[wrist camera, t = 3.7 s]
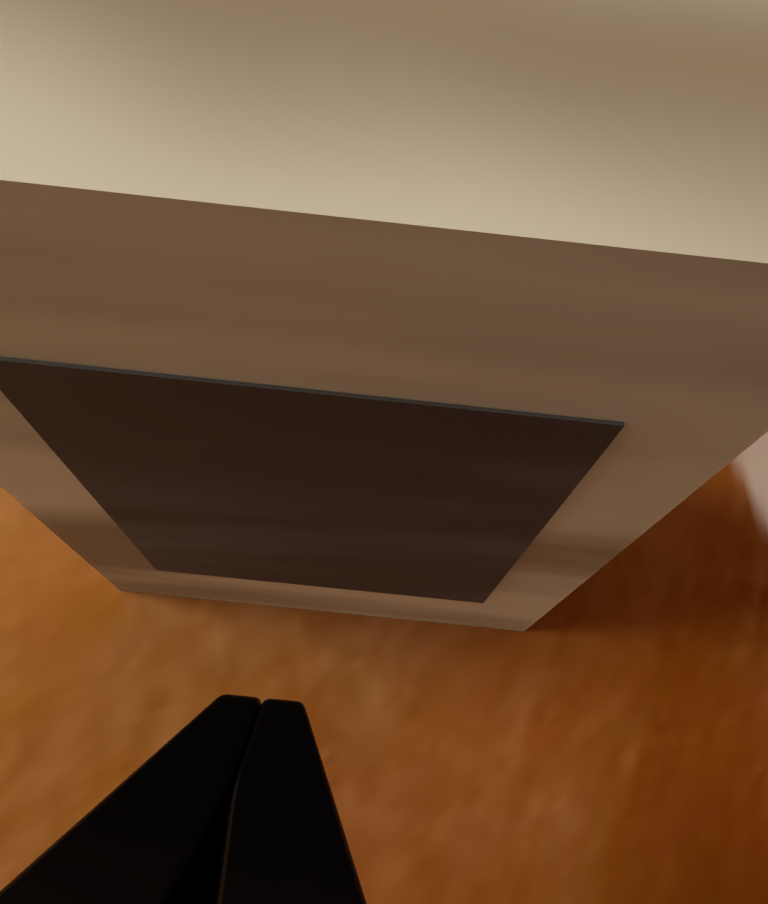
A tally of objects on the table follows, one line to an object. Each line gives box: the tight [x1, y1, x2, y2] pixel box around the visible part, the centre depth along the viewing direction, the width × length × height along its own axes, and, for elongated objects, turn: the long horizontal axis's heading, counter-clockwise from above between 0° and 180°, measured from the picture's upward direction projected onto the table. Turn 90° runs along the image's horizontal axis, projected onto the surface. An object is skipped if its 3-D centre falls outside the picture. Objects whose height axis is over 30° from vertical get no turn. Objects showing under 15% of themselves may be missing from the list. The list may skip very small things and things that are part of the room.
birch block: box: [0, 0, 768, 631], centre depth 12 cm, size 5×10×13 cm, turn 85°
